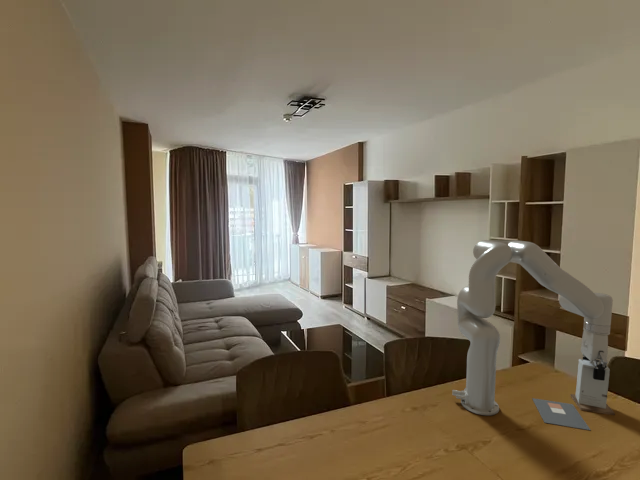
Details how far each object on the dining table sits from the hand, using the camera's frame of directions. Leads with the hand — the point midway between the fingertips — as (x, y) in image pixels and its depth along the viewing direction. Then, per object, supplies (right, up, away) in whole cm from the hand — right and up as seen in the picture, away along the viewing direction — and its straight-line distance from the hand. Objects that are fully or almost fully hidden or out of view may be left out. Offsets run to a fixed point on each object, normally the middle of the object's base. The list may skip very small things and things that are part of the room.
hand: (592, 373), depth 127 cm
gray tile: (-15, -12, -4) cm, 20 cm away
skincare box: (0, -11, +1) cm, 11 cm away
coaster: (0, -12, +1) cm, 12 cm away
